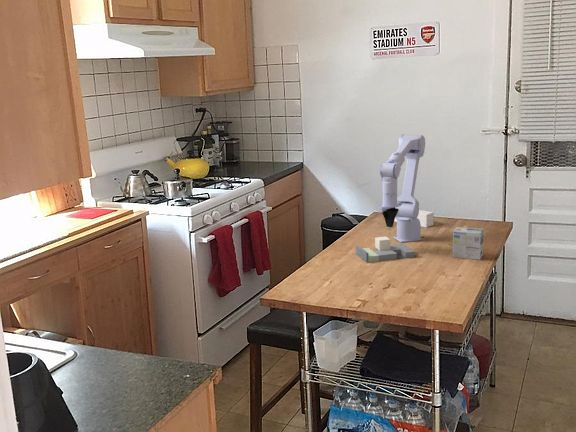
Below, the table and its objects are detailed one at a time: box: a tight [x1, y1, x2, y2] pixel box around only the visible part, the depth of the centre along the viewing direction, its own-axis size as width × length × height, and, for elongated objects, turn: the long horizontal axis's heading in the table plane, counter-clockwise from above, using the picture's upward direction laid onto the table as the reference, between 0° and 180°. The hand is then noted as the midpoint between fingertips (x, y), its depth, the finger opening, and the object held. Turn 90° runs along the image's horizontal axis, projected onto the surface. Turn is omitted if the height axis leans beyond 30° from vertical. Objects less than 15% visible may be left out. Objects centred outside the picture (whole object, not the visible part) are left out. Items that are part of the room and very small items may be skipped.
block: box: [374, 236, 391, 250], centre depth 261 cm, size 4×4×4 cm
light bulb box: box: [451, 226, 484, 261], centre depth 254 cm, size 11×7×11 cm, turn 65°
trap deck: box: [355, 243, 416, 263], centre depth 259 cm, size 20×11×4 cm, turn 105°
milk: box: [394, 209, 435, 228], centre depth 306 cm, size 6×6×22 cm
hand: (389, 226), depth 263 cm, fingers closed
